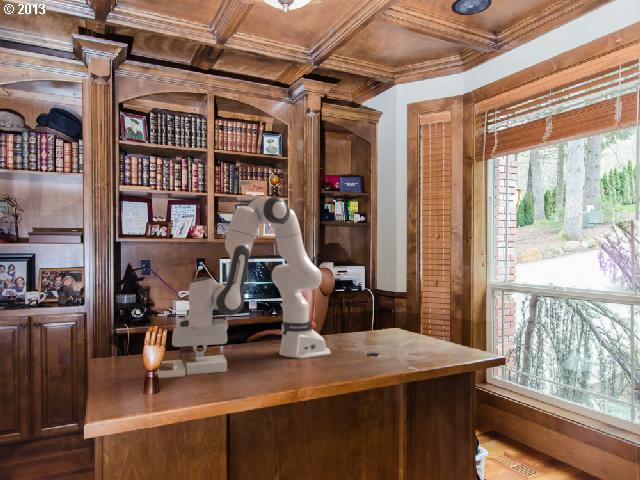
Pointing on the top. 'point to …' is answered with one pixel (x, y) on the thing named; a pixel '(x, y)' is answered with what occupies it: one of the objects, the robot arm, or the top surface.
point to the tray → (176, 372)
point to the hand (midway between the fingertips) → (199, 356)
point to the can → (186, 350)
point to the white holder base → (207, 365)
